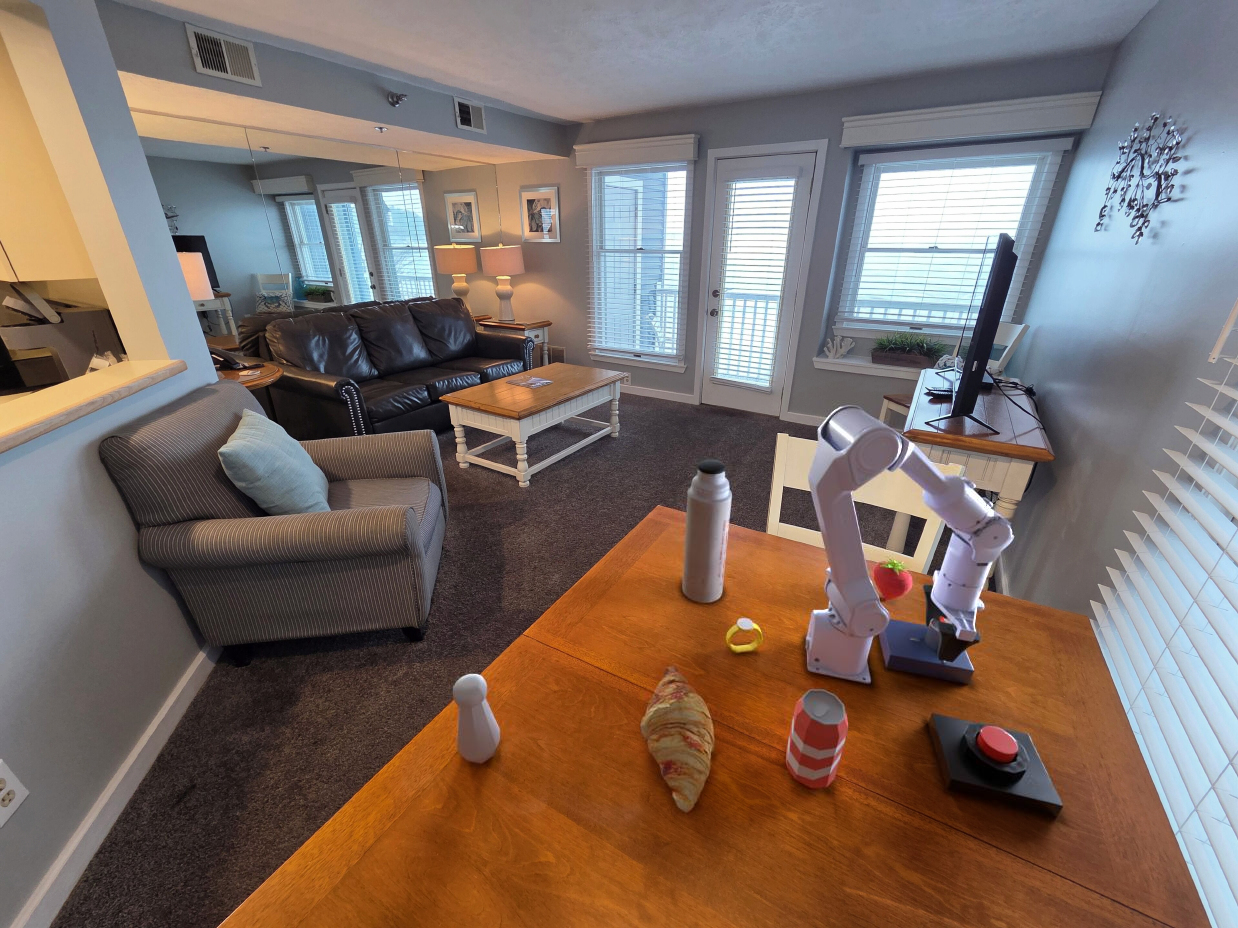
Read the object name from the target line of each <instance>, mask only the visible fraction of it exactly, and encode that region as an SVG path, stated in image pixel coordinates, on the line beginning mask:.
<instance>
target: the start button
mask: <svg viewBox="0 0 1238 928" xmlns="http://www.w3.org/2000/svg"><path fill="white" fill-rule="evenodd" d="M996 727H997V726H996ZM996 727H992V726H986V727H984V728H982V729H981V732H980V734H979V736H978V739H977V743H978V746H979V748H980V749H981V750H982V751H983V752H984V753H985V754H986V755H987V756H989V757H991V758H992V759H994V760H996V761H998V762H1002V763H1008V762H1011V761H1012V760H1013V759H1014V757H1015V755H1016V753H1017V751H1018V746H1017V743H1016V741H1015V740H1014V739H1013V738H1012V737H1011V736H1010V735H1009V734H1008V733H1006V732H1005V731H1003V730H1001V729H999V728H1000V727H998V728H996Z"/></svg>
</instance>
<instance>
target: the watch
mask: <svg viewBox="0 0 1238 928" xmlns="http://www.w3.org/2000/svg"><path fill="white" fill-rule="evenodd" d="M752 631H756V632H757V636H756V638H755V640H754V641H751V643H749V644H742V645H741V644H740V645H734V644H732V643H731V641H732V638H733V637H734V635H735V634H737V633H738V632H741V633H751V632H752ZM725 640H726V641H725V642H727V646H728V648H729V649H730V650H731V652H733V653H736V654H740V653H741V654H742V653H749V652H754V651H755V650H757V649H758V648H759V647H760V646H761V644H762V642H763V640H764V638H763V632H762V631H761V628H760V627H759V625H758V624H756V623H754V621H752V619H750V618H747V617H740V618H739V619H737V621H736V624H733V625H732V626H731V627H730V628H729V629H728V631H727V632H726V637H725Z"/></svg>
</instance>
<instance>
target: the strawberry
mask: <svg viewBox="0 0 1238 928" xmlns="http://www.w3.org/2000/svg"><path fill="white" fill-rule="evenodd" d="M892 558H893V560H892V559H891V558H889V557H888V556H887V557H886V560H883V561H879V562H877V563H876V564H875V565H874V567H873V569H872V576H873V581H874V583H875V586H876V588H877V589H878V591H879V592H880V594H881V596H882V598H883V599H884V600H886V601H890V600H894V599H898V598H900V597H902V596H905V595H907V594H908V592H910V590H911V589H912V588H913V578H912V575H911V574H910V573H909V571H908V569H910V568H909V567H908V566H904V565H902V564H903V563H904V561H897V560H895V557H894V556H892Z"/></svg>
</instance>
